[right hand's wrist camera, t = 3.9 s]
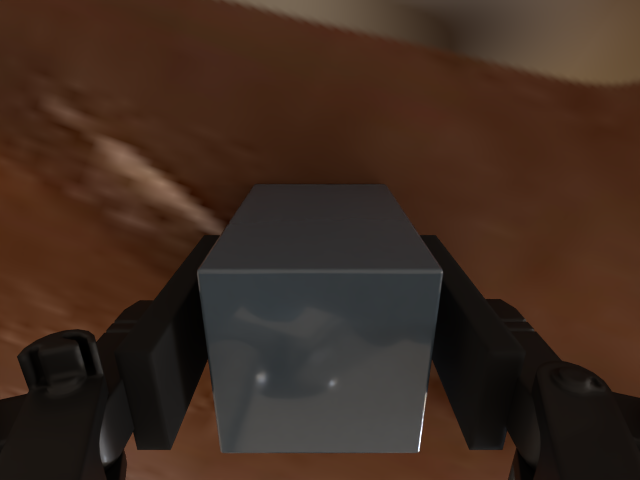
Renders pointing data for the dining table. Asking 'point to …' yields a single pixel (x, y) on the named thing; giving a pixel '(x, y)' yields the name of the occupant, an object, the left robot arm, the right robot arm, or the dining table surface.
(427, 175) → the dining table surface
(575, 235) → the dining table surface
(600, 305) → the dining table surface
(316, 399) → the block
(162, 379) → the right robot arm
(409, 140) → the dining table surface
